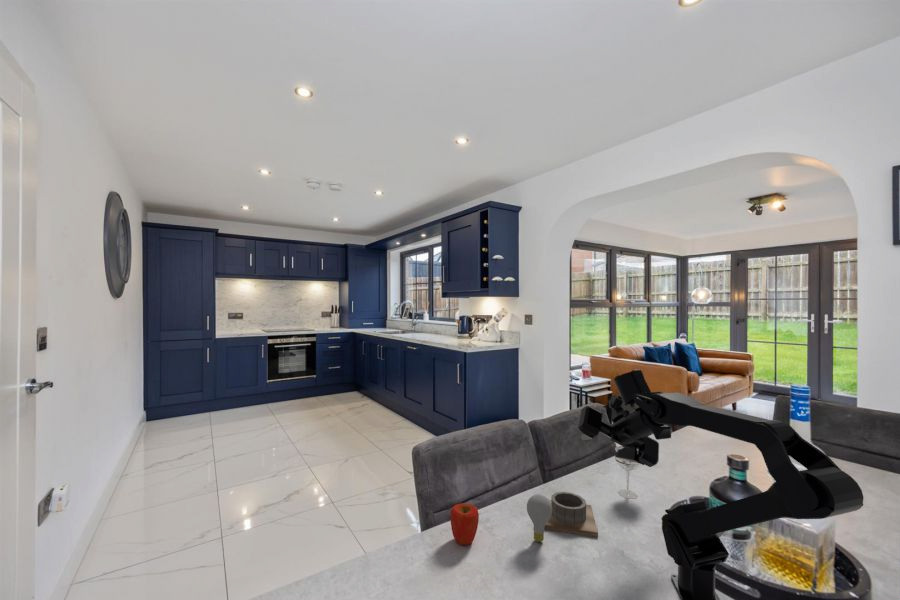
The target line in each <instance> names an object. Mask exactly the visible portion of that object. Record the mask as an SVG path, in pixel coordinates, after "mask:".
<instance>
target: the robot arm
mask: <svg viewBox="0 0 900 600" xmlns="http://www.w3.org/2000/svg"><path fill="white" fill-rule="evenodd" d="M613 382H614V384H615V387H616V388H617V391H618V394H619V395H618V394H614V395H612V396H611V397H610V398H609V399H608V407H609V409H612V410H613V413H614V414H613V415H611V418H610V421H611V422H612V423H611V424H610V425H608V424H607V423H606V422H604V421H602V420H603V413H602V412H601V411H600V410H597V409H596V408H594V407H592V406H590V405H586V406H584V407H583V408H581V412H580V417H579V422H578V430H579V431H580V432H581V433H582V435H581V440H582V441H585V440H586V441H587V440H592V439H594V437H597V436H598V435H599V433H600V434H602V435H604V436H606V437H608V438H610V441H612V442H614V443H616V444H617V445H620V446H623V447H624V448H622V449H620V450H619V451H617V452H615V453H614V458H615V457H616V458H620V459H624V460H628V461H632V462H636V463H639V464H641V466H647V467H649V468H651V467H655V466H657V464H658V463H659V462H660V459H659V458H660V443H659V442H658V440H667V439H672V432H671V429H672V427H671V426H689V427H694V428H696V429H697V428H698V429H700V430H701V429H702V430H705V431H708V432H712V433H715V434H718V435H722V436H725V437H728V438H732V439H735V440H739V441H741V442H745V443H749V444H752V445H754V446H755V447H756V448H757V449H758V450H759V451H760V453H761V456H762V458H763V460H764V463H765V465H766V468H767V471H768V473H769V475H770V476H771V477H772V479H773V480H774V482H773V483H772V484H771V485H770V486H769V488H768V489H767V490H765V491H763V492H760V493H756V494H752V495H749V496H747V497H744V498H740V499H737V500H734V501H730V502H727V503H724V504H720V505H717V506H714V507H711V508H708V507H707V505H706V502H705V501H704V500H701V501H693V502H689V503H685V504H679V505H677V506H676V507H672V508H671V507H670V508H667V509H664V511H665V513H666V514H664V515H662V517H661V532H662V535H663V539H664V543H665V546H666V548H665V549H666V551H667V554H668V556H669V557H670V558H672V560H673V561H674V564H676V565H677V574H674V573H673V574H670V579H671V580H672V582H673V585H674V587H675V589H676V590H677V593H678V596H679V597H680V599H681V600H721V599H720V597H719V596H718V595H719V594H717V592H716V564H719V563H726V562H727V560H728V557H729V555H730V554H729V552H728V550H727V548H726V547H725V545H724V543H723V542H722V540H721V537H722V536H723V534H725V532H729V531H733V530H737V529H742V528H745V527H750V526H754V525H757V524H762V523H767V522H770V521H774V520H779V519H783V518H784V519H790V520H791V519H792V520H793V519H794V520H822V519H827V518H831V517H834V516H835V517H836V516H840V515H844V514H849V513H852V512H856V511H858V510H860V509H861V508H862V507H863V506H864V497H865V496H864V494H863V490H862V488H861V486H860V485H859V483H858V482H857V481H856V480H855V479H854V478H853V477H852V476H851V475H849V474H848V473H847V472H846V471H844V470H842V469H841V468H840V467H839V466H838V465H837V464H836V463H835V462H834V461H833V459H831V458H830V457H829V455H827V454H826V453H824V452H823V451H821V450H820V449H819V448H817V447H816V446H814V445H813V444H811V443H810V442H808V441H807V440H806V439H805V438H803V437H802V436H801V435H800V434H799V433H798V432H797V431H796V430H795V429H794V428H793V426H791V425H790V424H789V423H787V422H785V421H782V420H779V419H768V418H762V417H758V416H755V415H751V414H747V413H741V412H738V411H737V412H736V411H732V410H728V409H724V408H719V407H716V406H715V407H714V406H710V405H706V404H703V403H701V402H699V401H698V400H697V399H695V398H694V397H692V396H689V395H686V394H684V393H682V392H678V391H677V392H664V391H655V392H654V391H651V389H650V387H649V385H648V383H647V380H646V379H645V377H644V373H643V372H642V370H641V369H632V370H631V371H628V372H624V373H622V374H619V375H616V376H615V377H614V378H613ZM651 435H654V438H655V439H654V438H652V437H650V436H651ZM791 458H792V459H793V460H794V461H796V462H797V463H799V465H802V466H803V467H804V468H805V469H804V470H803V469H802V470H800V469H798V468H797V467H796V465H795V464H794V463H793V462H792V461H791Z"/></svg>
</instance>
